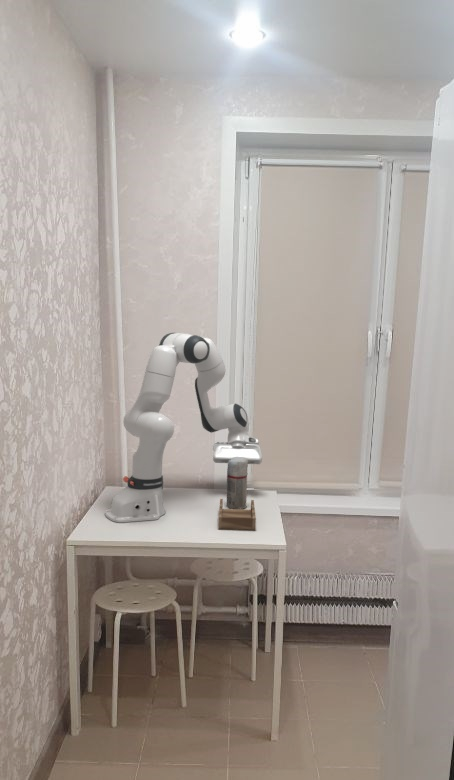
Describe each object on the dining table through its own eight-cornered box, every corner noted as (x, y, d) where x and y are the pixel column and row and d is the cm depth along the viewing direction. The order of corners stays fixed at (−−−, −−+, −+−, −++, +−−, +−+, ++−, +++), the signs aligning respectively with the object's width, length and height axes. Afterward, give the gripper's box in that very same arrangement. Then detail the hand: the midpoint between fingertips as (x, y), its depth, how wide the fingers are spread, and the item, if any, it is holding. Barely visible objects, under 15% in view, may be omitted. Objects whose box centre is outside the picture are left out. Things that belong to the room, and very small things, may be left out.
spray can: (246, 510, 234) (248, 460, 232) (225, 509, 235) (227, 459, 232) (246, 503, 243) (248, 455, 241) (226, 503, 243) (227, 454, 241)
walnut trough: (219, 510, 234) (220, 498, 233) (253, 511, 234) (253, 499, 233) (218, 529, 212) (218, 517, 211) (255, 530, 212) (255, 518, 211)
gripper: (213, 438, 252) (211, 466, 243) (262, 439, 252) (262, 468, 243) (213, 446, 257) (211, 474, 248) (261, 447, 256) (261, 476, 248)
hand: (237, 471), depth 245 cm, fingers closed
